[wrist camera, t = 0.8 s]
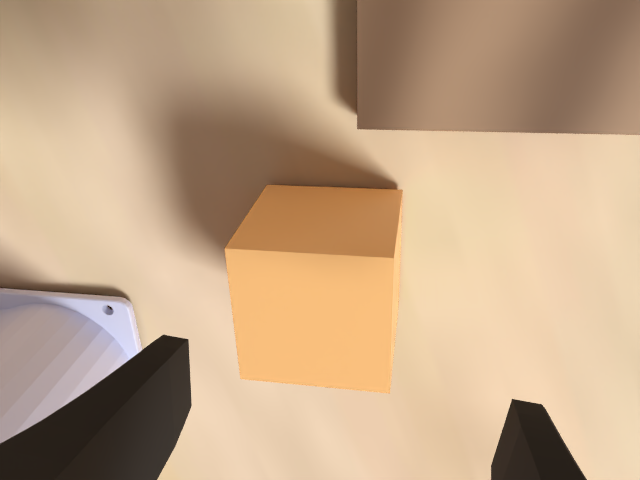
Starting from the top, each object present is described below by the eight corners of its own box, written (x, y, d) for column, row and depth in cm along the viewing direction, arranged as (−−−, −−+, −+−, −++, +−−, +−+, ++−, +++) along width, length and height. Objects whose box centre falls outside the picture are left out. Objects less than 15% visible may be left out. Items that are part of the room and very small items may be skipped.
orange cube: (276, 297, 24) (240, 379, 20) (266, 184, 22) (224, 248, 17) (398, 306, 23) (389, 393, 19) (402, 189, 21) (393, 258, 16)
